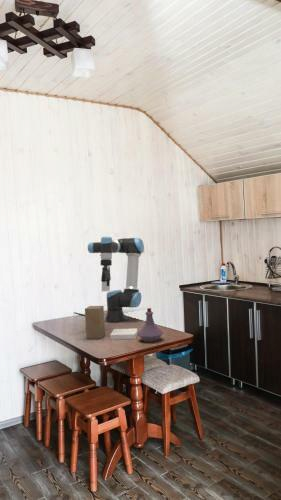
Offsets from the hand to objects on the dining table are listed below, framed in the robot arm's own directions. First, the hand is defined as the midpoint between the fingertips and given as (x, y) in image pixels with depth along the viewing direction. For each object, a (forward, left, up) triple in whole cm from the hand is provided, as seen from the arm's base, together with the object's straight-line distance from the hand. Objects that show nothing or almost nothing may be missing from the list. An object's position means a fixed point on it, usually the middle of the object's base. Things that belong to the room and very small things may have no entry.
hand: (105, 291), depth 291 cm
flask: (+18, +30, -30) cm, 46 cm away
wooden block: (+6, -7, -29) cm, 31 cm away
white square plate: (+6, +12, -29) cm, 32 cm away
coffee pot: (-10, -15, -30) cm, 35 cm away
